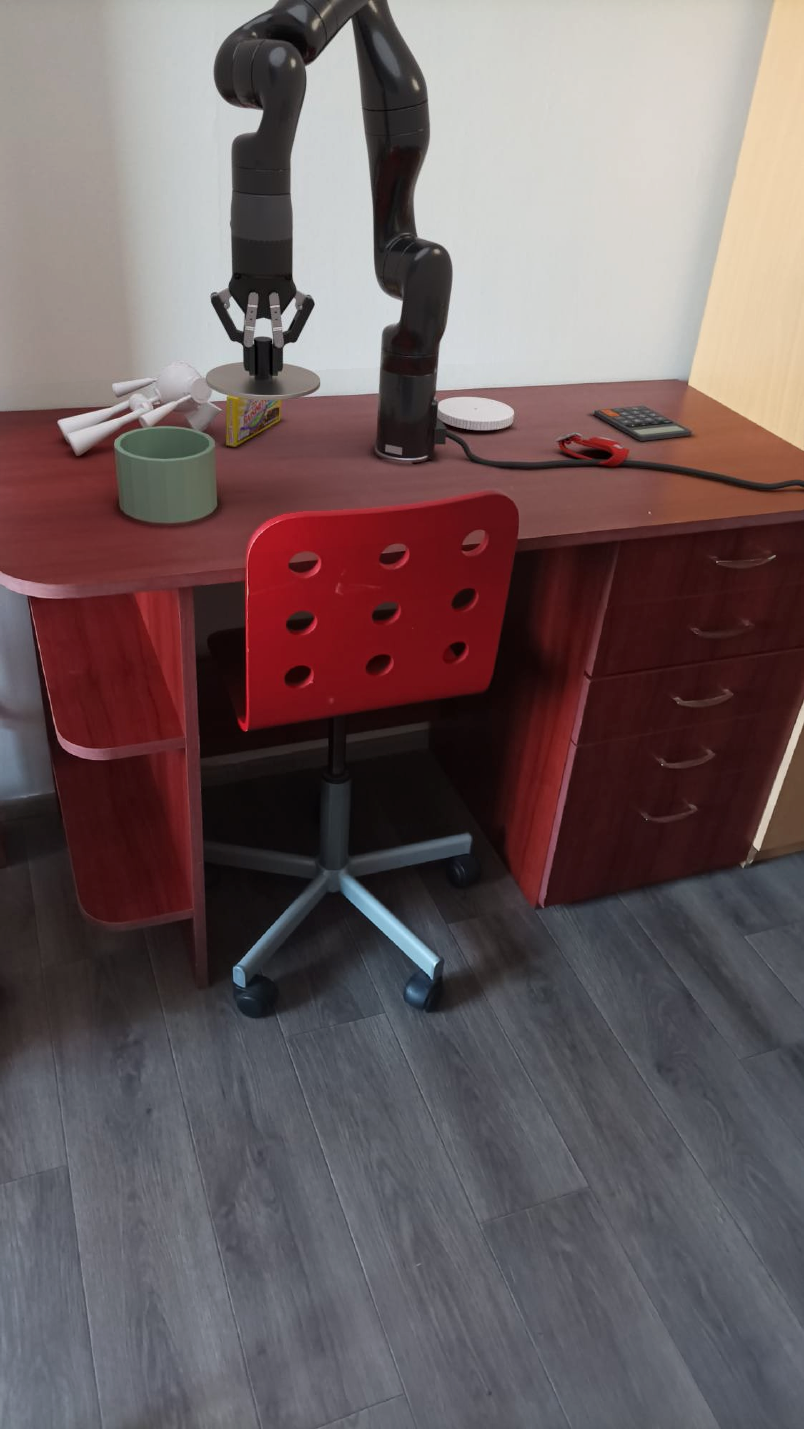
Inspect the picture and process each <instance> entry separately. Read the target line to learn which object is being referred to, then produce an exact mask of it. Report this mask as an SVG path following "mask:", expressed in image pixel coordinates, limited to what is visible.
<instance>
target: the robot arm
mask: <svg viewBox="0 0 804 1429" xmlns="http://www.w3.org/2000/svg"><path fill="white" fill-rule="evenodd" d="M350 20H351V27H352V33H353V39H354V46H355V54H356V62H357V72H358V79H359V91H360V104H361V112H362V122H363V123H362V124H363V130H364V138H365V144H366V151H367V160H368V170H369V181H370V183H369V184H370V191H371V192H370V193H371V204H372V236H373V237H372V239H373V267H374V275H375V278H376V279H375V280H376V282H377V285H378V286H379V288H380V289H381V291H382V292H383V293H384V294H386V295H387V296H389V297H390V298H393V299H395V300H398V301H401V302H402V303H401V311H400V317H399V321H398V322H394V323H391V324H388V325H386V326H385V327H384V328H383V330H382V332H381V340H380V341H381V342H380V361H379V379H378V382H379V383H378V397H377V398H378V399H377V417H376V421H377V422H376V435H375V436H376V437H375V447H374V448H375V449H374V453H375V455H376V456H377V457H379V459H382V460H391V461H396V462H406V463H407V462H408V463H409V462H410V463H411V464H419V463H422V462H426V461H434V458H435V447H436V446H435V445H446V441H447V440H446V439H449V440H452V441H453V442H455V443H457V444H458V445H459V446H461V448H462V451H463V452H464V454H465V457H467V459H469V460H470V461H472V462H474V463H476V464H480V465H485V466H488V467H489V466H490V467H494V468H500V469H501V468H503V469H506V468H507V469H545V468H546V469H547V468H555V467H577V466H579V467H580V466H581V467H582V466H583V467H584V466H601V465H600V464H599V462H600V461H606V460H608V459H609V458H593V459H560V460H559V459H557V460H547V461H499V460H498V461H497V460H489V459H485V458H481V457H479V456H477V455H475V454H474V453H473V452H472V451H471V449H470V446H469V445H468V443H467V442H466V441H465V440H464V439H463V438H461V437H460V436H458V435H457V434H455V433H453V432H451V431H448V429H447V427H446V425H445V423H444V422H443V421H442V420H440V419H438V417H437V412H438V403H439V402H438V400H437V398H436V397H437V395H436V394H437V385H438V384H437V383H438V372H439V359H440V358H439V357H440V349H441V341H442V339H443V337H444V335H445V332H446V329H447V325H448V319H449V318H448V317H449V310H450V304H451V297H452V296H451V295H452V289H453V277H454V272H453V271H454V270H453V269H454V268H453V261H452V258H451V255H450V253H449V250H448V249H447V248H445V246H443V245H442V244H440V243H438V242H435V241H432V240H427V239H424V238H421V237H419V236H418V231H417V225H416V217H415V216H416V215H415V214H416V213H415V193H416V192H415V191H416V186H417V183H418V181H419V177H420V175H421V171H422V169H423V166H424V163H425V160H426V157H427V154H428V151H429V147H430V141H431V118H430V105H429V92H428V85H427V80H426V79H425V78H426V77H425V76H424V73H423V71H422V69H421V67H420V65H419V63H418V61H417V59H416V58H415V56H414V54H413V53H412V51H411V49H410V47H409V45H408V44H407V42H406V40H405V39H404V37H403V36H402V34H401V31H400V30H399V28H398V26H397V25H396V22H395V20H394V17H393V16H392V12H391V9H390V6H389V1H388V0H277V1H276V3H275V4H274V5H273V6H272V7H270V9H268V10H266V11H264V12H262V13H260V14H257V15H255V17H253V18H251V19H250V20H248V21H247V22H245V23H243V24H242V25H241V26H239V27H237V28H236V29H235V30H233V31H232V32H231V33H230V34H229V35H228V36H227V37H226V38H225V39H224V40H223V42H222V43H221V44H220V46H219V48H218V50H217V53H216V55H215V58H214V63H213V70H212V72H213V81H214V84H215V88H216V91H217V92H218V94H219V95H220V96H221V98H222V99H223V101H224V102H227V103H228V104H229V105H230V106H234V107H236V108H240V109H248V110H255V111H262V116H261V119H260V121H259V122H260V123H259V126H258V128H257V130H256V131H252V132H245V133H241V134H239V135H237V136H235V137H234V139H233V141H232V142H231V148H230V149H231V151H230V152H231V154H230V157H231V158H230V160H231V163H230V164H231V201H230V220H229V227H230V241H231V246H230V248H231V249H230V250H231V278H230V280H229V282H228V286H227V288H225V289H223V290H221V291H219V292H217V291H213V292H212V293H210V297H209V298H210V303H211V306H212V307H213V309H214V311H215V314H216V315H217V318H218V319H219V321H220V323H221V324H222V327H223V328H224V331H225V332H226V334H227V337H228V338H229V340H230V341H231V342H233V343H238V344H240V345H241V346H242V362H243V365H244V369H245V371H249V376H255V348H254V338H255V329H256V323H257V320H260V319H265V320H266V319H267V320H270V325H271V333H272V376H278V372H282V369H283V363H284V347H285V346H286V345H288V344H290V343H292V344H295V343H296V342H298V340H299V338H300V335H301V334H302V332H303V330H304V328H305V326H306V324H307V322H308V319H309V318H310V316H311V314H312V312H313V310H314V308H315V305H316V304H315V300H314V298H313V296H312V295H310V294H305V293H304V292H302V291H300V290H298V289H297V286H296V283H295V282H294V276H293V270H294V266H293V265H294V263H293V260H294V254H293V253H294V252H293V251H294V246H293V245H294V237H293V236H294V211H293V202H292V184H291V183H292V153H293V148H294V144H295V140H296V135H297V130H298V125H299V121H300V117H301V115H302V109H303V107H304V103H305V97H306V92H307V84H308V74H307V70H306V69H307V68H306V67H308V66H310V65H312V64H313V63H314V62H315V61H316V60H317V59H318V58H319V57H320V56H321V54H322V53H323V52H324V51H325V50H326V48H327V47H328V46H329V45H330V44H331V42H332V41H333V40H334V38H336V36H337V35H338V34H339V33H340V31H341V30H342V29H343V28H344V27H345V25H347V24H348V22H349V21H350ZM231 297H232V299H233V300H234V301H235V303H236V304H237V306H238V308H239V309H240V310H241V311H242V313H243V314H244V315H243V328H242V330H240V329H238V328H237V327H236V324H235V322H234V320H233V319H232V317H231V315H230V313H229V309H230V308H231V303H230V302H231V301H230V299H231ZM293 300H295V303H294V307H295V309H296V312H295V314H294V316H293V318H292V320H291V322H290V323H289V326H288V328H287V330H284V331H283V322H282V315H283V314H284V312H285V311H286V310H287V308H288V307H289V305H290V304H291V302H292V301H293ZM617 466H618V467H634V468H644V469H654V470H662V471H668V472H674V473H681V474H685V475H690V476H691V475H692V476H695V477H701V478H706V479H711V480H715V481H720V482H725V483H729V484H732V485H736V486H740V487H744V488H748V489H749V488H750V489H755V490H763V491H773V490H779V489H780V490H781V489H784V488H790V487H802V488H803V489H804V479H790V480H785V481H780V482H774V483H773V482H772V483H764V482H763V483H762V482H756V481H751V480H746V479H740V478H739V477H738V478H736V477H734V476H730V475H725V474H721V473H717V472H712V471H706V470H701V469H696V468H693V467H692V468H691V467H686V466H682V465H681V466H680V465H674V464H669V463H662V462H653V461H645V460H644V461H643V460H642V461H641V460H633V459H631V460H630V459H625V460H624V461H623V462H622V463H620V464H619V465H617ZM617 466H616V467H617Z"/></svg>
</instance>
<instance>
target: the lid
mask: <svg viewBox="0 0 804 1429" xmlns="http://www.w3.org/2000/svg"><path fill="white" fill-rule="evenodd" d="M253 344H254V348H255V376H249V371H245V369H244V365H243V361H240V362H239V361H238V362H232V363H227V364H222V365H218V366H216V367H213V368H211V369H210V370H209V371H207V373H205V374H206V375H205V378H206V383H207V385H208V386H209V387H210V388H211V389H212V391H215V392H217V393H219V394H223V395H226V396H228V395H229V396H233V397H238V398H244V399H253V400H281V401H283V400H284V401H285V400H291V399H293V400H294V399H298V398H302V397H303V398H304V397H305V396H309V395H312V394H314V393H315V392H317V391H318V390H319V389H320V387H321V377H320V376H319V375H318V374H317V373H316V372H314V371H312V370H310V369H308V368H305V367H302V366H300V365H299V366H298V365H294V364H290V363H284V362H283V369H282V372H278V376H272V344H273V337H269V336H263V335H262V336H261V335H260V336H254V339H253Z"/></svg>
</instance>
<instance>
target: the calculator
mask: <svg viewBox="0 0 804 1429" xmlns="http://www.w3.org/2000/svg"><path fill="white" fill-rule="evenodd" d="M593 416H595V417H597V418H598V419H601V420H602V421H604V422H606V423H607V424H609V425H611V426H613V427H615V428H617V430H620V431H622V432H624V433H625V434H627V435H629V436H630V437H632V438H634V439H636V440H637V441H640V442H644V441H652V440H662V439H671V438H681V437H689V436H692V432H693V431H692V430H691V429H689V428H687V427H685V426H683V425H681V424H679V423H677V422H676V421H674V420H672V419H670V418H669V417H666V416H664V415H663V414H660V413H658V412H657V411H655V410H652V409H651V408H649V407H647V406H645V405H637V406H627V407H617V408H605V409H595V410H594V412H593Z"/></svg>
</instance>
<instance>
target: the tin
mask: <svg viewBox="0 0 804 1429" xmlns="http://www.w3.org/2000/svg"><path fill="white" fill-rule="evenodd" d="M113 448H114V449H113V450H114V459H115V470H116V471H115V472H116V482H117V494H118V503H119V508H120V512H123V513H124V515H127V516H129V517H131V518H133V519H136V520H139V521H144V522H148V523H157V524H176V523H186V522H191V521H196V520H199V519H203V518H204V517H206V516H208V515H210V514H212V513H213V512H214V511H215V509H216V508H217V507H218V493H217V492H218V490H217V488H218V487H217V467H216V466H217V464H216V462H217V461H216V441H215V439H214V438H213V437H212V436H210V435H209V434H208V433H205V432H203V431H202V432H200V431H198V430H194V429H191V428H188V427H182V426H169V425H160V426H159V425H158V426H152V427H146V428H143V427H142V428H136V429H131V430H129V431H127V432H124V433H121V434H120V435H119V436H118V437H117V438H115V439H114V444H113Z"/></svg>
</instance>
